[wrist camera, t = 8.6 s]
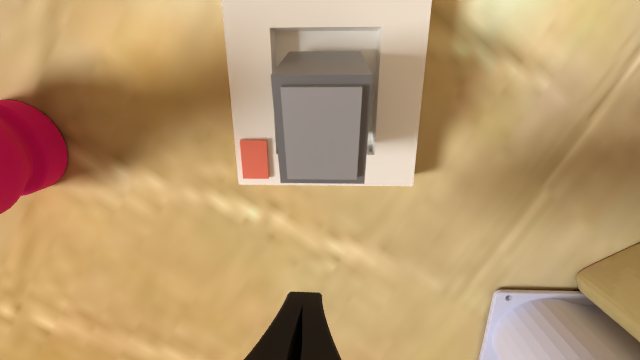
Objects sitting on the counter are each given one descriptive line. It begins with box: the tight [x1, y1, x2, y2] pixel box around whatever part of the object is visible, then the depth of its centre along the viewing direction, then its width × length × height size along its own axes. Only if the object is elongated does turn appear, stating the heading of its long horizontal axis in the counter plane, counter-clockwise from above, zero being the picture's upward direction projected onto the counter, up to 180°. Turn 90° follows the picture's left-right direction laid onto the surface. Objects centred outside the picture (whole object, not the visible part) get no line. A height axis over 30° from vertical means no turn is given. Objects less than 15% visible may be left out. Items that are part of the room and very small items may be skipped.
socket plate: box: [221, 0, 432, 186], centre depth 18 cm, size 11×11×2 cm
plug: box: [271, 51, 373, 184], centre depth 16 cm, size 4×5×6 cm
